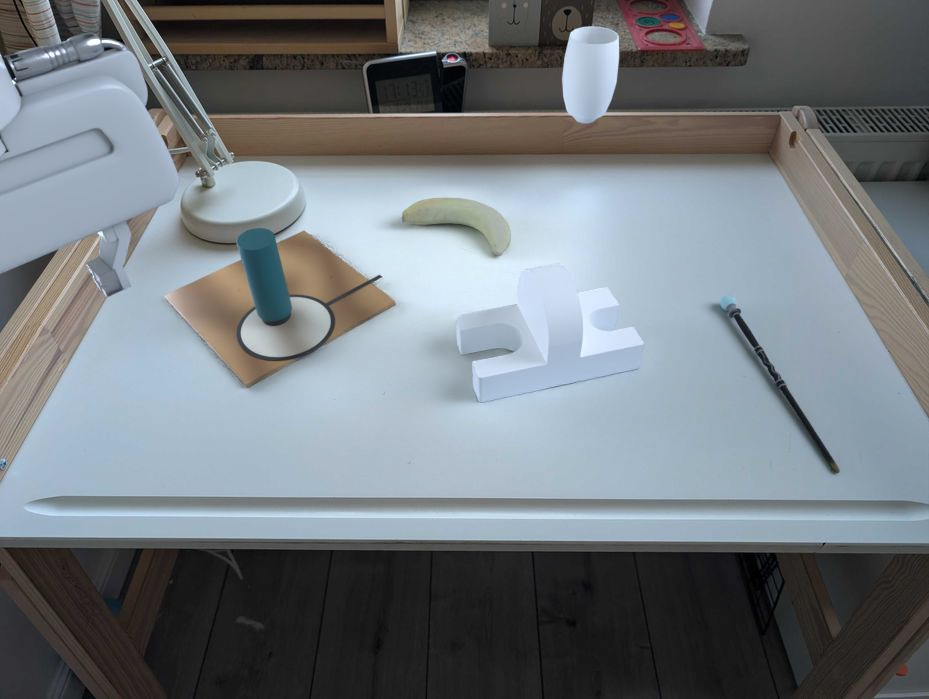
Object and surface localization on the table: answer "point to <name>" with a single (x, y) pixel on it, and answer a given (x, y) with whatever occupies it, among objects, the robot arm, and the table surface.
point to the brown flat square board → (312, 316)
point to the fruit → (462, 218)
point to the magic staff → (774, 374)
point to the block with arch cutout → (547, 337)
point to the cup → (590, 72)
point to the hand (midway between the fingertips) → (34, 325)
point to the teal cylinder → (265, 275)
